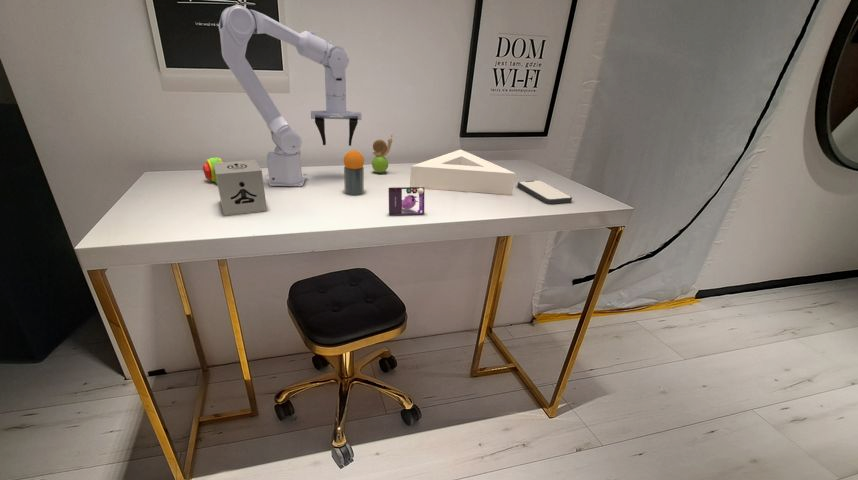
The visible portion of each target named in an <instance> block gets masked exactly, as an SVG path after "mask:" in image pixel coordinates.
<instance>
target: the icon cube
mask: <svg viewBox="0 0 858 480" xmlns="http://www.w3.org/2000/svg"><path fill="white" fill-rule="evenodd" d="M213 164H214V169H215V174H216V179H217V184H218V185H217V184H216V185H217V190H218V194H219V200H220V204H221V208H222V213H223V216H224V217H226V216H235V215H242V214H251V213H259V212H261V213H262V212H267V211H268V206H267V199H266V191H265V184H264V177H263V170H262V168H261V167H260V165H259V163H258V162H257V160H256V159H250V160H249V159H248V160H236V161H233V160H232V161H222V162H218V163H213Z"/></svg>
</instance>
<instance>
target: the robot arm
mask: <svg viewBox="0 0 858 480" xmlns="http://www.w3.org/2000/svg"><path fill="white" fill-rule="evenodd" d="M218 31H219V37H220V49H221V56H222V59H223V61H224V62H225V64H226V66H227V67H228V68H229V70H230V71H231V73H232V74H233V76H234V78H235V79H236V80H237V82H238V83H239V85H240V86H241V88H242V90H243V91H244V92H245V94H246V95H247V97H248V99H249V100H250V101H251V103H252V105H253V106H254V107H255V109H256V110H257V112H258V114H260V116H261V118H262V119H263V121H264V123H265V124H266V126H267V128H268V130H269V132H270V136H271V140H272V142H273V143H274V144H275V146H274V147H275V148H274V150H273V151H268V152H267V154H266V165H267V171H268V179H269V180H268V181H269V186H270V187H303V186H304V183H305V180H306V176H303V170H302V169H303V167H302V154H301V147H302V145H303V144H302V143H303V141H302V138H301V135H300V134H299V133H298V132H297V131H296V130H294V129H293V128H292V127H291V125H290V124H289V123H288V122H287V120H286V119H285V118H284V116H283V115H282V113H281V112H280V110H279V109H278V107H277V106H276V104H275V103H274V101H273V99H272V98H271V96H270V94H269V92H268V91H267V90H266V88H265V87H264V85H263V84H262V81H261V80H260V79H259V76H258V75H257V74H256V72H255V71H254V69H253V67H252V66H251V64H250V62H249V61H248V59H247V58H246V54H247V53H246V52H247V48H248V43H249V41H250V39H251V37H252V35H259V34H260V35H261V34H266V35H268V36H270V37H273V38H275V39H277V40H279V41H281V42H284V43H286V44H289V45H291V46H293V47H295V49H296V51H297V53H298V55H299V56H302V57H304V58H306V59H308V60H310V61H313V62H315V63H317V64H318V65H322V66H323V67H324V81H325V82H324V87H325V109H326V110H310V119H311V120H314V123H315V126H316V127H317V130H318V131H319V135H320V138H321V141H322V145H323V146H326V145H327V140H326V138H327V137H326V127H325V126H326V125H325V124H326V123H325V120H348V132H349V133H348V147H351V146H352V141H353V137H354V134H355V130H356V128H357V125H358V121H362V111H349V110H347V81H346V80H347V77H346V69H347V67H348V66H349V62H350V58H348V53H347V51H346V50H345V49H344V48H343V47H341V46H338V45H333V41H331V40H330V39H327V40H325V39H323V38H321V37H319V36H318V35H316V34H317V33H316V32H315V31H314V30H309V31H307V30H303V31H302V32H300V33H299V32H298V31H295V30H294V29H292V28H290V27H288V26H286V25H284V24H283V23H281V22H279V21H277V20H276V19H273V18H272V17H270V16H268V15H266V14H264V13H261V12H259V11H257V10H254V9H248V8H247V7H246V6H244V5H241V4H234V5H231V6H229V7H226V8H224V10H222V12H221V15H220V19H219V23H218Z"/></svg>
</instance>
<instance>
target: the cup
mask: <svg viewBox="0 0 858 480" xmlns="http://www.w3.org/2000/svg"><path fill="white" fill-rule="evenodd" d="M364 171H365V167H364V166H363V167H362V168H361V169H359V170H350V169H347V168H346V167H345V166H344V167H343V173H344V174H343V181H344V186H343V187H344V193H345V194H346V195H349V196H360V195H363V194H364V190H365V189H364V185H365V184H364V183H365V181H364V180H365V179H364V178H365V174H364V173H365V172H364Z"/></svg>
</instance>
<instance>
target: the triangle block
mask: <svg viewBox="0 0 858 480" xmlns="http://www.w3.org/2000/svg"><path fill="white" fill-rule="evenodd" d="M516 176H517V173H516V172H514V171H512V170H509V169H507V168H504V167H502V166H500V165H497V164H495V163H493V162H490V161H489V160H486V159H483V158H482V157H479V156H478V155H475V154H473V153H470V152H468V151H465V150H463V149H457V150H454V151H451V152H449V153H445V154H443V155H440V156H437V157H434V158H431V159H428V160H425V161H422V162H419V163H416V164H413V165H410V177H409V179H410V180H409V187H424V189H428V190H440V191H441V190H442V191H452V192H464V193H465V192H466V193H480V194H492V195H505V196H512V195H513V191H514V185H515V181H516Z"/></svg>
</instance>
